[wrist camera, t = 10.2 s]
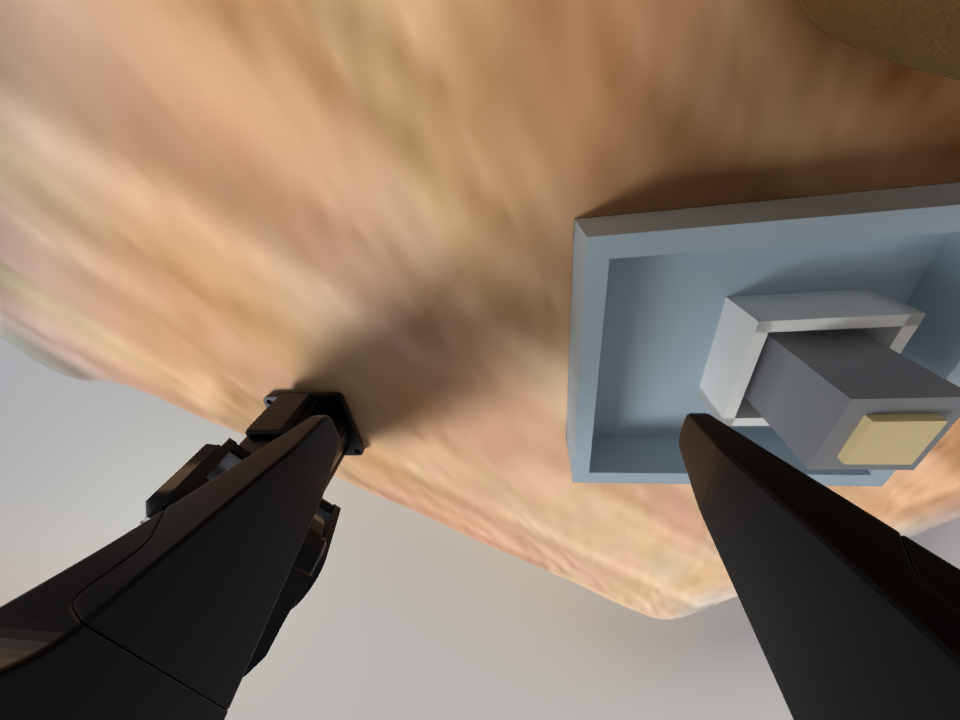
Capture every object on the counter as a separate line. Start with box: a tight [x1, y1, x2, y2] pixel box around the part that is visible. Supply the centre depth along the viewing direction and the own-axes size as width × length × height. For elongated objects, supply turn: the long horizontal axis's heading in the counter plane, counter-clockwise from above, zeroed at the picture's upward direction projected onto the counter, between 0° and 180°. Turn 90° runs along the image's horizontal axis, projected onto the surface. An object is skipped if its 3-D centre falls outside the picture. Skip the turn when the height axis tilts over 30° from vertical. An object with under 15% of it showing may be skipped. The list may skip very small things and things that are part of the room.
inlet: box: [697, 289, 926, 426], centre depth 18 cm, size 7×7×3 cm
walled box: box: [566, 182, 960, 486], centre depth 19 cm, size 16×18×4 cm
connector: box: [744, 328, 960, 470], centre depth 16 cm, size 4×4×7 cm
